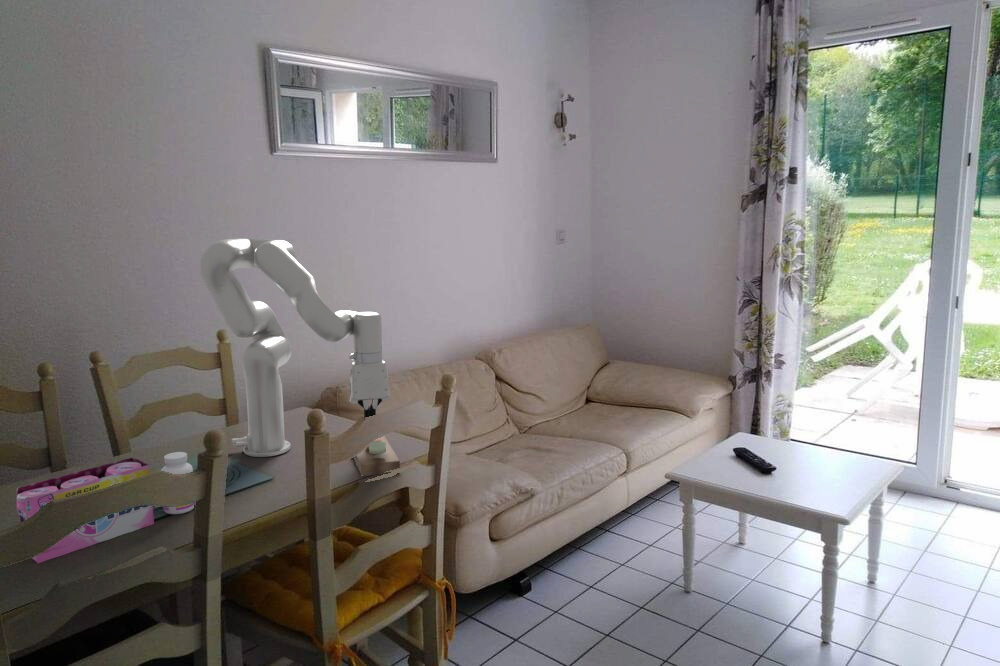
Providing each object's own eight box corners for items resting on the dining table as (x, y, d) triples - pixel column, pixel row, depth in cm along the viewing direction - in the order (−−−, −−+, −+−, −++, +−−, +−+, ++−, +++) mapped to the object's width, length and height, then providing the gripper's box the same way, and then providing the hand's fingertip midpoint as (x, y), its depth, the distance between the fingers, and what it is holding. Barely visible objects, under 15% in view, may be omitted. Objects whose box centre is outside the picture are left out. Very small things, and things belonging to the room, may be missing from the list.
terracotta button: (366, 450, 188) (366, 443, 188) (363, 445, 192) (363, 438, 192) (382, 448, 189) (382, 441, 189) (379, 443, 193) (379, 436, 193)
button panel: (361, 476, 179) (361, 465, 179) (349, 448, 200) (348, 438, 199) (399, 471, 183) (399, 460, 182) (384, 445, 203) (383, 435, 203)
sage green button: (370, 454, 181) (370, 447, 181) (367, 449, 185) (367, 442, 185) (387, 453, 183) (387, 445, 182) (384, 447, 187) (384, 440, 186)
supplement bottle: (201, 504, 162) (197, 450, 160) (185, 516, 155) (181, 461, 153) (173, 502, 162) (169, 449, 160) (157, 514, 156) (152, 459, 154)
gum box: (30, 567, 133) (22, 500, 130) (14, 555, 138) (6, 489, 135) (155, 524, 152) (150, 464, 149) (137, 514, 156) (132, 456, 154)
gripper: (342, 362, 185) (345, 428, 188) (398, 358, 191) (399, 423, 194) (338, 356, 192) (340, 420, 195) (392, 352, 197) (393, 415, 201)
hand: (370, 421), depth 195 cm, fingers closed
